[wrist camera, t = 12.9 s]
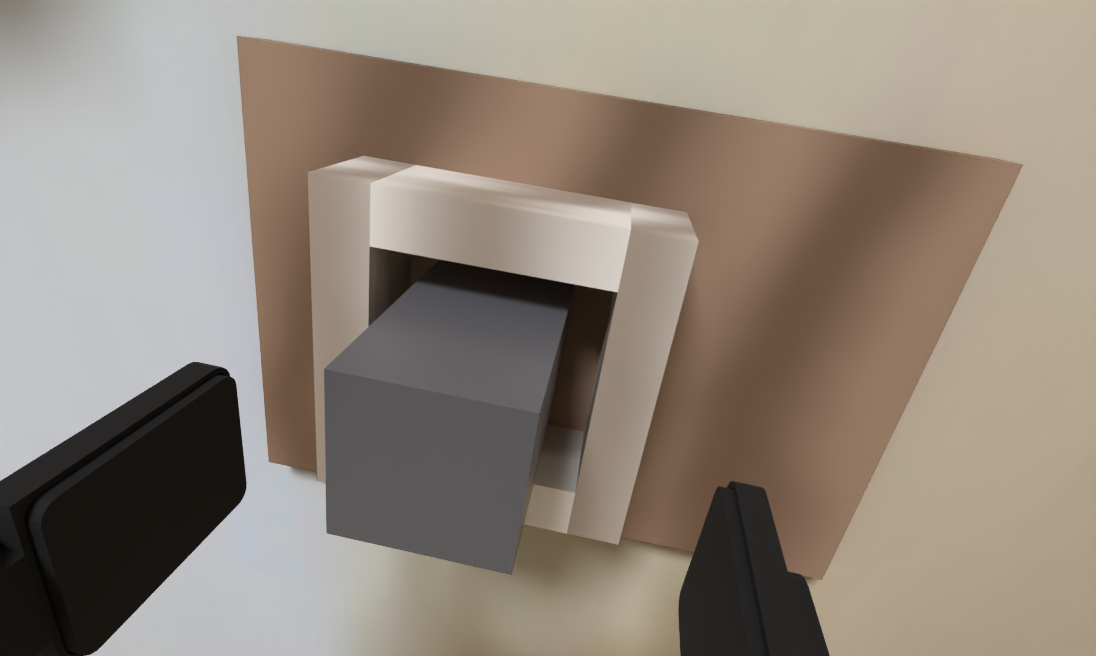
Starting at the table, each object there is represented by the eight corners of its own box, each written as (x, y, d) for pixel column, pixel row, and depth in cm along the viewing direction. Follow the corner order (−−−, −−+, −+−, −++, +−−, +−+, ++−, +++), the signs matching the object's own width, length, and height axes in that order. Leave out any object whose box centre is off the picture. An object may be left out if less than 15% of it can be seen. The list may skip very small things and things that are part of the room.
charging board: (998, 159, 15) (1119, 186, 11) (813, 557, 20) (852, 660, 17) (259, 38, 16) (148, 26, 12) (283, 445, 22) (213, 519, 18)
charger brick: (575, 283, 16) (539, 413, 10) (553, 400, 18) (511, 574, 12) (441, 257, 17) (323, 369, 10) (432, 375, 18) (326, 533, 12)
